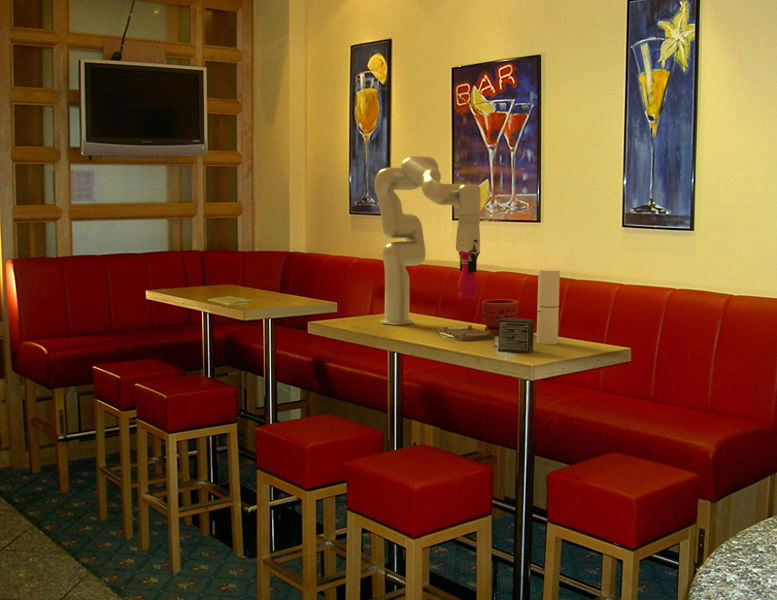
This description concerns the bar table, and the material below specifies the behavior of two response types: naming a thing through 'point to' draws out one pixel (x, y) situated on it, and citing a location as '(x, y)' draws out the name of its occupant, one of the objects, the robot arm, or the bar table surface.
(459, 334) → the serving board
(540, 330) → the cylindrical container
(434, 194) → the robot arm
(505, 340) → the small box
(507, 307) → the plant pot
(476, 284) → the pepper mill
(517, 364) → the bar table surface
